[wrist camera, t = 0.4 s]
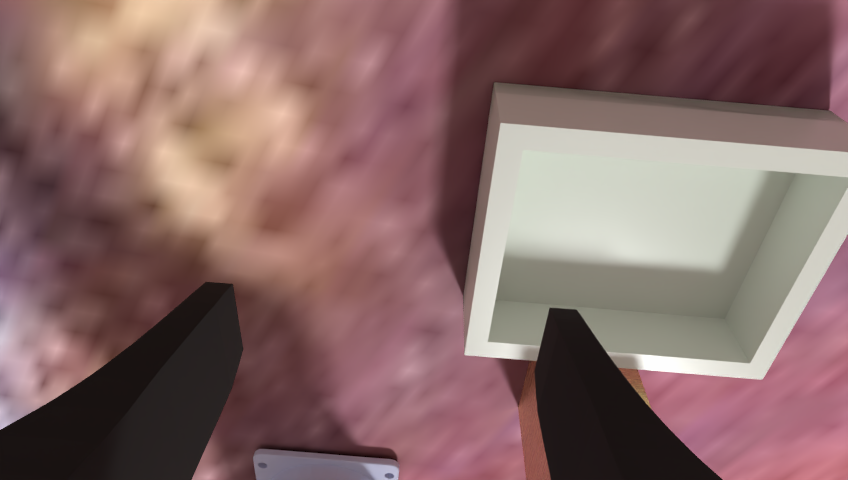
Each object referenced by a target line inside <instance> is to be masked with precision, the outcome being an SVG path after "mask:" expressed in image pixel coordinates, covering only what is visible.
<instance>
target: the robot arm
mask: <svg viewBox="0 0 848 480" xmlns="http://www.w3.org/2000/svg"><path fill="white" fill-rule="evenodd" d="M242 351H243V346H242V339H241V333H240V326H239V320H238V314H237V307H236V301H235V295H234V288H233V284H226V283H213V282H206V283H204V284H203V285H202V286H201V287H200V288H198V289H197V290H196V291H195V292H194V293H192V294H191V295H190V296H189V297H188V298H187V299H185V300H184V301H183V302H182V303H181V304H180V305H178V306H177V307H176V308H175V309H174V310H173V311H172V312H170V313H169V314H168V315H167V316H166V317H165V318H163V319H162V320H161V321H160V322H159V323H157V324H156V325H155V326H154V327H153V328H151V329H150V330H149V331H148V332H147V333H145V334H144V335H143V336H142V337H141V338H139V339H138V340H137V341H136V342H134V343H133V344H132V345H131V346H129V347H128V348H127V349H125V350H124V351H123V352H121V353H120V354H119V355H117V356H116V357H115V358H114V359H112V360H111V361H110V362H108V363H107V364H106V365H104V366H103V367H102V368H100V369H99V370H98V371H96V372H95V373H93V374H92V375H90V376H89V377H87V378H86V379H85V380H83V381H82V382H80V383H79V384H77V385H76V386H74V387H72V388H71V389H69V390H68V391H66V392H65V393H63V394H62V395H60V396H58V397H57V398H55V399H54V400H52V401H50V402H49V403H47V404H46V405H44V406H42V407H40V408H39V409H37V410H35V411H33V412H31V413H30V414H28V415H26V416H24V417H23V418H21V419H19V420H17V421H15V422H14V423H12V424H10V425H8V426H7V427H5V428H3V429H1V430H0V480H191V479H192V477H193V475H194V472H195V470H196V468H197V466H198V464H199V461H200V459H201V457H202V455H203V452H204V450H205V448H206V446H207V443H208V441H209V439H210V437H211V434H212V432H213V430H214V428H215V426H216V423H217V421H218V419H219V417H220V414H221V412H222V410H223V407H224V405H225V403H226V401H227V398H228V396H229V394H230V391H231V389H232V385H233V382H234V379H235V376H236V373H237V369H238V366H239V362H240V359H241V355H242ZM534 373H535V388H536V401H537V412H538V418H539V423H540V428H541V433H542V438H543V443H544V448H545V453H546V458H547V463H548V468H549V473H550V478H551V480H722V479H721V478H720V477H719V476H718V475H717V474H716V473H714V472H713V471H712V470H711V469H710V468H709V467H708V466H707V465H705V464H704V463H703V462H702V461H701V460H700V459H699V458H698V457H697V456H696V455H695V454H694V453H693V452H692V451H690V450H689V449H688V448H687V447H686V446H685V444H684V443H683V442H682V441H681V440H680V439H679V438H678V437H677V436H676V435H675V434H674V433H673V432H672V431H671V430H670V429H669V428H668V427H667V426H666V425H665V424H664V423H663V422H662V421H661V420H660V419H659V417H658V416H657V415H656V414H655V413H654V412H653V411H652V409H651V408H650V407H649V406H648V405H647V404H646V402H645V401H644V400H643V399H642V398H641V396H640V395H639V394H638V393H637V392H636V390H635V389H634V388H633V387H632V385H631V384H630V383H629V381H628V380H627V379H626V378H625V376H624V375H623V374H622V372H621V371H620V370H619V368H618V367H617V366H616V365H615V363H614V362H613V360H612V359H611V358H610V356H609V355H608V354H607V352H606V351H605V349H604V348H603V347H602V345H601V344H600V342H599V341H598V339H597V338H596V336H595V335H594V334H593V332H592V331H591V329H590V328H589V326H588V325H587V323H586V322H585V320H584V319H583V317H582V316H581V314H580V313H579V312H578V311H577V310H576V309H563V308H549V312H548V316H547V320H546V325H545V329H544V333H543V337H542V341H541V345H540V350H539V354H538V358H537V362H536V366H535V370H534ZM253 462H254V468H255V475H256V480H398V476H399V463H398V462H397V461H395V460H393V459H383V458H371V457H359V456H346V455H334V454H322V453H310V452H297V451H285V450H273V449H258V450H256V451H255V453H254V456H253Z"/></svg>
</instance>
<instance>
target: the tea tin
mask: <svg viewBox="0 0 848 480" xmlns="http://www.w3.org/2000/svg"><path fill="white" fill-rule="evenodd" d="M536 362H537V361H529V365H528V369H527V373H526V377H525V382H524V386H523V390H522V394H521V398H520V402H519V406H518V410H519V419H520V428H521V437H522V446H523V454H524V463H525V472H526V480H551V478H550V473H549V468H548V463H547V458H546V453H545V448H544V443H543V438H542V433H541V428H540V423H539V418H538V412H537V401H536V388H535V373H534V370H535V366H536ZM619 370H620V371H621V372H622V374H623V375H624V376H625V378H626V379H627V380H628V381H629V383H630V384H631V385H632V387H633V388H634V389H635V390H636V392H637V393H638V394H639V395H640V396H641V398H642V399H643V400H644V401H645V402H646V404H647V405H648V406H649V407H650V404H649V401H648V398H647V395H646V392H645V389H644V387H643V384H642V381H641V378H640V375H639V372H638V369H627V368H619ZM650 408H651V407H650Z"/></svg>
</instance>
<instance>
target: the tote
mask: <svg viewBox="0 0 848 480" xmlns="http://www.w3.org/2000/svg"><path fill="white" fill-rule="evenodd" d="M847 235H848V123H847V122H845V121H844V120H842V119H841V118H840V117H838V116H837V115H835V114H834V113H833V112H831V111H828V110H816V109H805V108H793V107H781V106H769V105H757V104H746V103H734V102H722V101H710V100H699V99H687V98H675V97H663V96H651V95H640V94H628V93H616V92H604V91H592V90H581V89H569V88H557V87H545V86H533V85H522V84H510V83H498V82H494V85H493V92H492V99H491V106H490V113H489V120H488V127H487V134H486V141H485V148H484V155H483V162H482V169H481V176H480V183H479V190H478V197H477V204H476V211H475V218H474V225H473V232H472V239H471V246H470V253H469V260H468V267H467V274H466V281H465V288H464V295H463V312H464V355H470V356H482V357H494V358H506V359H518V360H530V361H537V358H538V354H539V350H540V345H541V341H542V337H543V333H544V329H545V325H546V320H547V316H548V312H549V308H563V309H576V310H577V311H578V312H579V313H580V314H581V316H582V317H583V319H584V320H585V322H586V323H587V325H588V326H589V328H590V329H591V331H592V332H593V334H594V335H595V336H596V338H597V339H598V341H599V342H600V344H601V345H602V347H603V348H604V349H605V351H606V352H607V354H608V355H609V356H610V358H611V359H612V360H613V362H614V363H615V365H616V366H617V367H618V368H627V369H639V370H652V371H664V372H676V373H688V374H700V375H712V376H724V377H737V378H749V379H761V380H763V378H764V376H765V374H766V373H767V371H768V369H769V368H770V366H771V364H772V362H773V361H774V359H775V357H776V356H777V354H778V352H779V351H780V349H781V347H782V345H783V344H784V342H785V340H786V339H787V337H788V335H789V334H790V332H791V330H792V328H793V327H794V325H795V323H796V322H797V320H798V318H799V316H800V315H801V313H802V311H803V310H804V308H805V306H806V305H807V303H808V301H809V299H810V298H811V296H812V294H813V293H814V291H815V289H816V287H817V286H818V284H819V282H820V281H821V279H822V277H823V276H824V274H825V272H826V270H827V269H828V267H829V265H830V264H831V262H832V260H833V258H834V257H835V255H836V253H837V252H838V250H839V248H840V247H841V245H842V243H843V241H844V240H845V238H846V236H847Z"/></svg>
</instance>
